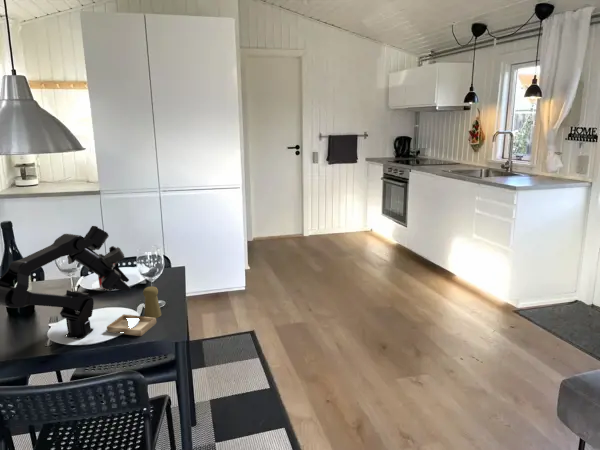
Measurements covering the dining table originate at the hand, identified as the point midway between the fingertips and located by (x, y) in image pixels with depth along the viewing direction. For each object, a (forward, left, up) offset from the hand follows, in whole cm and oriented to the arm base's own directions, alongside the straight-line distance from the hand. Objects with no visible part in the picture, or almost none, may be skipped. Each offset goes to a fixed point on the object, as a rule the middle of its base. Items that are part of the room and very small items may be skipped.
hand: (129, 285), depth 160 cm
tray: (+4, -6, -13) cm, 15 cm away
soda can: (-26, +23, -13) cm, 37 cm away
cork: (+6, +4, -13) cm, 15 cm away
